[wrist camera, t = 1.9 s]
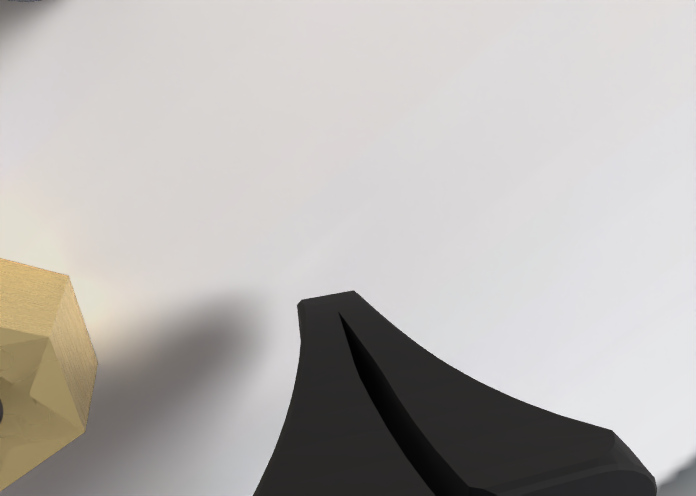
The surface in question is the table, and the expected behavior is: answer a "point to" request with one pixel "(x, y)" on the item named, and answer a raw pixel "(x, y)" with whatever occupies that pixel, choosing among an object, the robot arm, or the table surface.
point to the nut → (40, 368)
